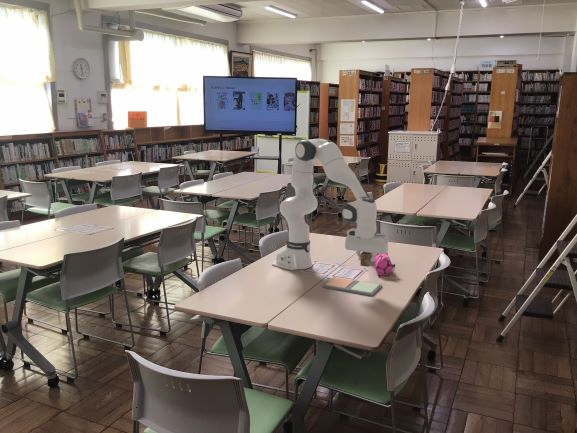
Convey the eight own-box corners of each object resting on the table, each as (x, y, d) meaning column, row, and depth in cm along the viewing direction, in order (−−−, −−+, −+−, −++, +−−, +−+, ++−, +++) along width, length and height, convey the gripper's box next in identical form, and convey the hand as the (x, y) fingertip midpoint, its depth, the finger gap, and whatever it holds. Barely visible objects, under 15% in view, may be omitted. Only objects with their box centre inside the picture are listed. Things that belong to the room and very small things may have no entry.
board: (322, 287, 234) (322, 284, 234) (334, 278, 246) (334, 276, 245) (372, 296, 222) (372, 293, 221) (382, 286, 234) (382, 284, 233)
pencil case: (395, 276, 249) (395, 257, 246) (376, 276, 249) (376, 257, 247) (388, 263, 269) (388, 246, 267) (370, 263, 270) (371, 246, 268)
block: (360, 265, 227) (360, 253, 226) (363, 263, 231) (363, 251, 229) (368, 266, 225) (368, 254, 224) (371, 264, 229) (371, 252, 227)
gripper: (390, 233, 222) (389, 261, 225) (348, 228, 232) (348, 256, 235) (386, 236, 217) (385, 265, 220) (343, 231, 227) (343, 259, 230)
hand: (366, 260), depth 228 cm, fingers closed on block, 4 cm apart
